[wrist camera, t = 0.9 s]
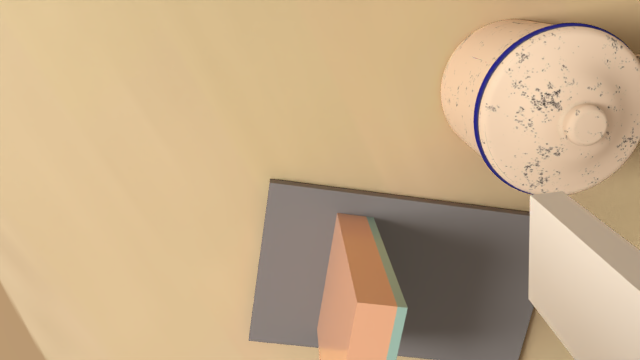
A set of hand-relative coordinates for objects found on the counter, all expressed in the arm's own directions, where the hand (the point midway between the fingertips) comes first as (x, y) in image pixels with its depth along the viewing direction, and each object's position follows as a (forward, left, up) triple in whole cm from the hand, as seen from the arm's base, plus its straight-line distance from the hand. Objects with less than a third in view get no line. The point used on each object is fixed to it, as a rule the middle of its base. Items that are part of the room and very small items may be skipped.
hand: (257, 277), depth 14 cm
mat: (+15, +3, -26) cm, 30 cm away
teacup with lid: (+5, +15, -26) cm, 31 cm away
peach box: (+13, 0, -25) cm, 28 cm away
